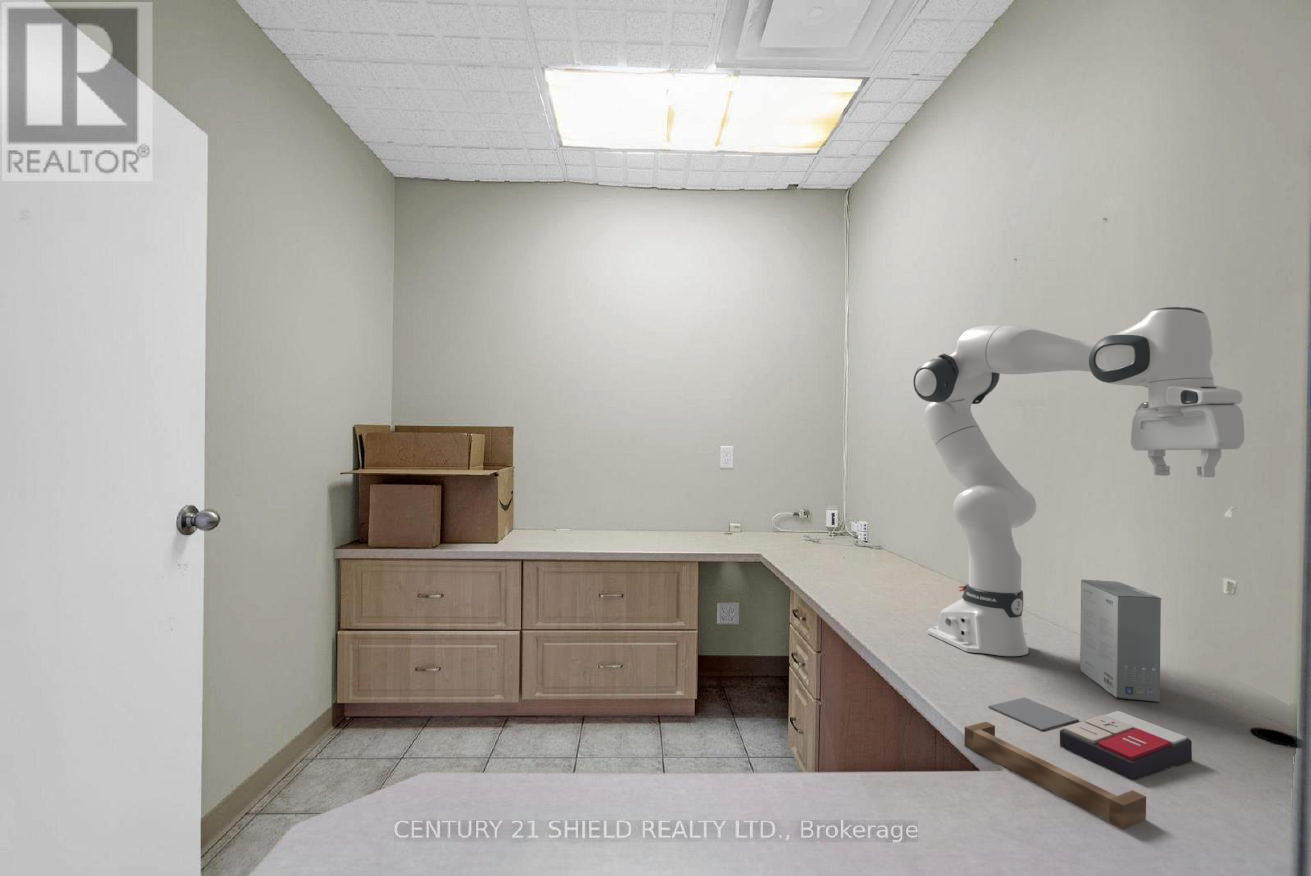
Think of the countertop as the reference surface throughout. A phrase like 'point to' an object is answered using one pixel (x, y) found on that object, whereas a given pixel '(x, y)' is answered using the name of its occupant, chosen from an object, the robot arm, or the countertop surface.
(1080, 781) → the brown wooden handle
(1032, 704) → the rest mat
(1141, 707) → the countertop surface
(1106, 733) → the calculator
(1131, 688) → the hard drive box
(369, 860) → the countertop surface
